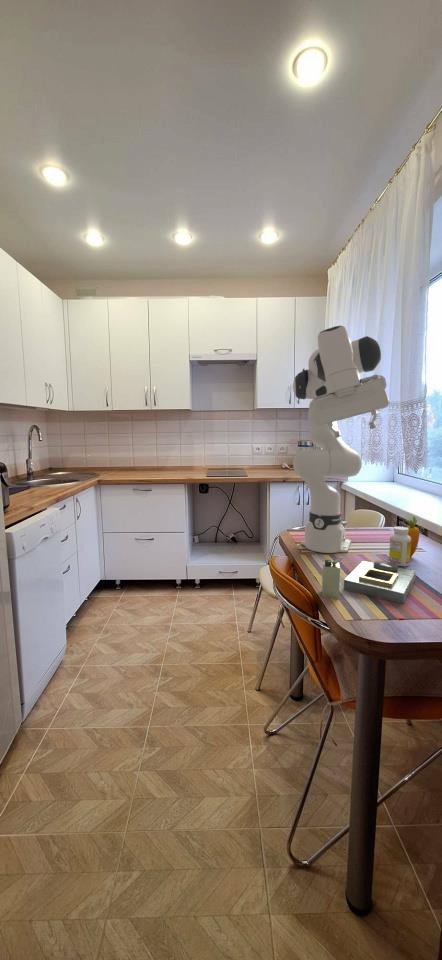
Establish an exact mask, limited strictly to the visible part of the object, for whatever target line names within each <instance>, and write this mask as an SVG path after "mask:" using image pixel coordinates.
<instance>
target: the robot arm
mask: <svg viewBox="0 0 442 960" xmlns="http://www.w3.org/2000/svg"><path fill="white" fill-rule="evenodd" d="M317 346H318V349H316V350H315V351H313V352H312V353H311V355H310V357H309V359H308V369H305V368H302V371H300V372H298V373H297V375H296V376H295V377H294V379H293V382H292V390H293V393H294V395H295V397H296V398H297V399H299V400H306V399H307V400H308V399H309V400H311V401H310V402H309V405H308V406H309V407H308V412H307V414H308V415H307V416H308V417H307V418H308V419H307V421H308V430H309V439H310V441H311V442H312V444H314V445H315V446H317V447H318V448H319V449H318V448H317V449H316V448H313V449H311V448H310V449H304V450H300V451H298V452H297V453H296V454H295V455H294V457H293V460H292V467H293V470H294V473H296V475H297V476H298V477H300V478H301V479H302V480H303V481H304V483H306V486H307V487H308V490H309V494H310V511H309V514H308V521H309V522H307V523H306V524H305V527H304V530H305V531H304V539H302V540H301V541H300V544H301V545H302V546H304V547H305V548H306V549H307V550H310V551H313V552H315V553H316V552H317V553H326V554H332V553H334V554H335V553H347V552H349V549H350V548H351V547H350V546H351V544H352V540H351V539H349V538H346V528H345V527H344V525H343V524H342V517H343V512H342V511H341V494H340V492H339V491H338V490H337V489H335V488H334V487H332V486H330V485H329V484H327V483H326V479H331V478H332V479H344V478H345V479H346V478H351V477H355V476H357V475H358V474H359V473H360V471H361V468H362V466H363V465H362V464H363V463H362V458H361V456H360V454H359V453H358V452H357V451H356V450H354V449H352V448H351V447H349V446H348V445H347V444H346V443H345V442H344V441H343V439H342V435H341V431H340V430H339V428H338V423H337V422H338V421H342V420H346V419H350V418H353V417H357V416H361V415H363V414H368V413H370V415H371V416H372V420H371V421H370V422H368V425H369V429H370V430H371V429H376V428H377V426H376V425H377V424H376V421H377V416H378V410H379V411H380V410H381V409H385V408H388V407H389V405H390V399H389V396H388V393H387V391H386V388H387V381H386V378H385V376H383V375H381V374H373V375H371V376H368V377H367V376H366V377H363V378H361V377H360V375H361V374H363V373H369V372H374V371H375V369H376V368H377V367H378V366H379V364H380V363H381V361H382V360H381V359H382V353H381V352H382V351H381V347H380V344H379V342H378V341H377V340H376V339H374V338H373V337H371V336H367V335H366V336H363V337H361V338H358V339H356V340H353V341H352V340H351V338H350V335H349V333H348V331H347V328H346V327H345V326H343V325H336V326H332V327H329V328H326V329H323V330H322V331H320V332H319V333H318V335H317ZM320 448H321V449H320Z"/></svg>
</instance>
